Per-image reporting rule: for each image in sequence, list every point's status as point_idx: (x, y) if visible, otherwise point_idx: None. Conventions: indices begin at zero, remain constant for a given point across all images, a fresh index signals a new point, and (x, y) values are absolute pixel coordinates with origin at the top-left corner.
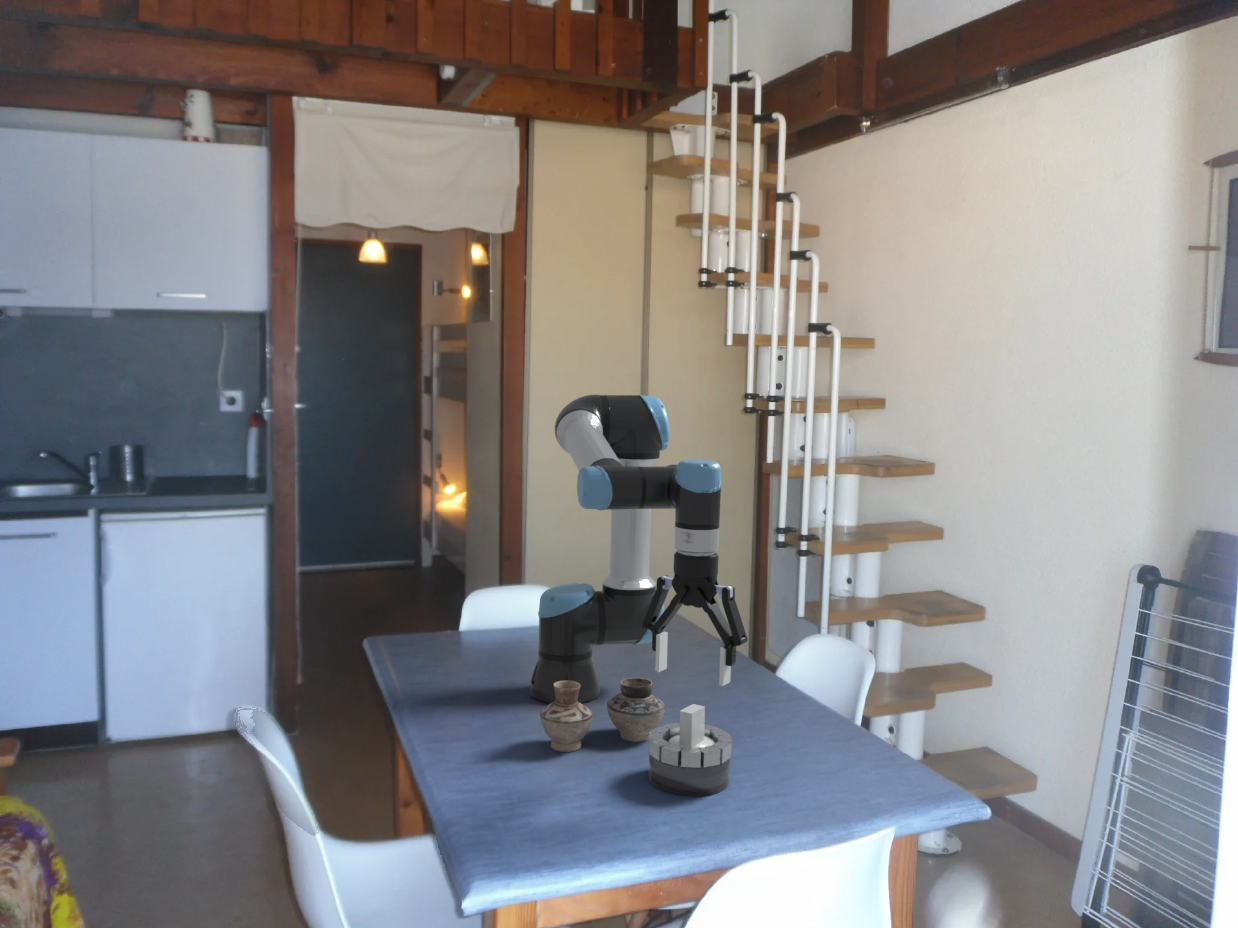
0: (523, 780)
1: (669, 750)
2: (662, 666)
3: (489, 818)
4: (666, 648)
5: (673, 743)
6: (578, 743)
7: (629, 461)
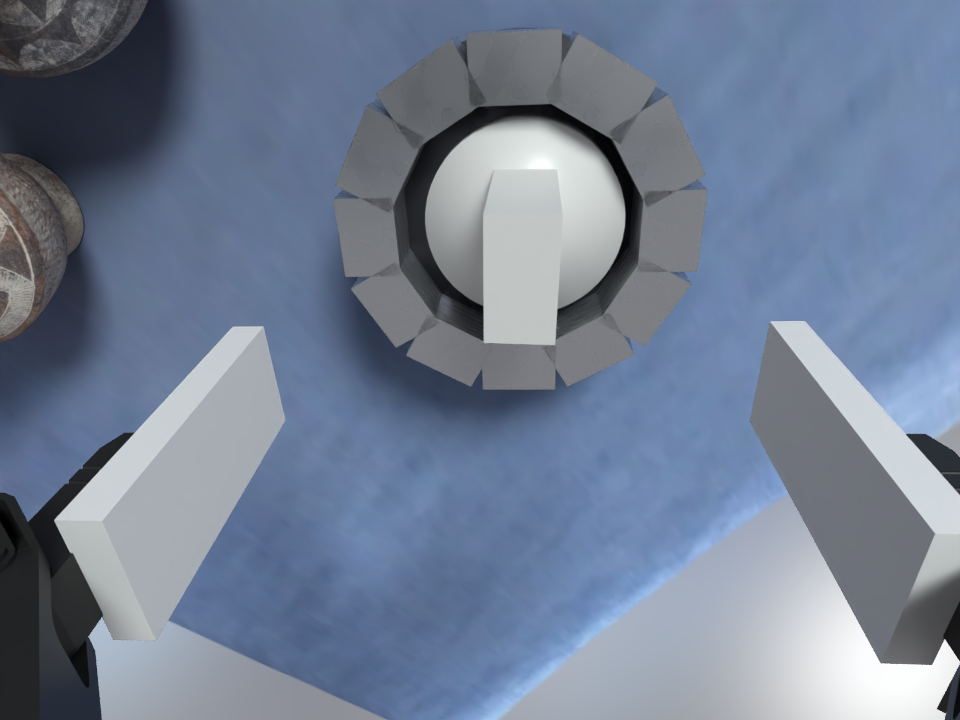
0: None
1: (517, 386)
2: (266, 397)
3: (287, 612)
4: (195, 424)
5: (466, 275)
6: (62, 209)
7: None
